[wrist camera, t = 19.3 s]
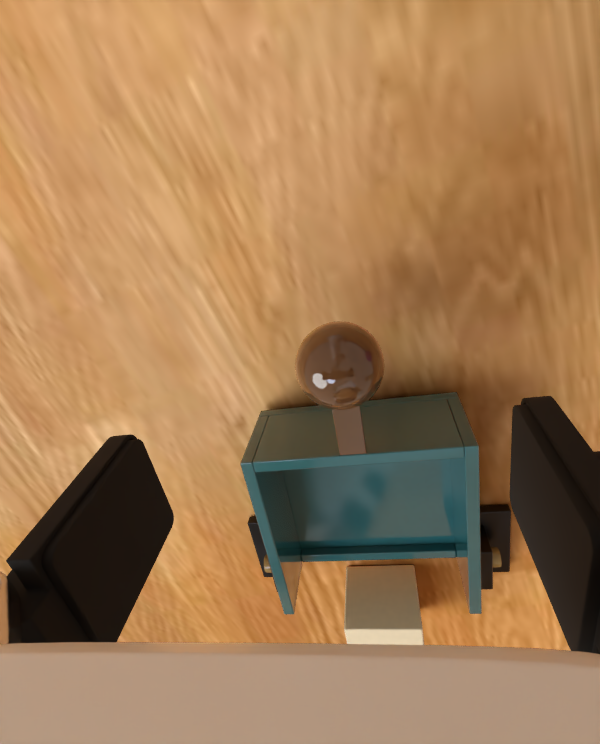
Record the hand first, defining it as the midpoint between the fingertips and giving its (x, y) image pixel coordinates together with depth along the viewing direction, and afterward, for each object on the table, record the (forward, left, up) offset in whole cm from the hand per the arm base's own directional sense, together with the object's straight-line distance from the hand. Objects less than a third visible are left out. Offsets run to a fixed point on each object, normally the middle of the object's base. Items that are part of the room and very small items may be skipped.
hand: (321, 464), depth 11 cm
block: (+8, +19, -10) cm, 23 cm away
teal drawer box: (+3, +7, -12) cm, 14 cm away
